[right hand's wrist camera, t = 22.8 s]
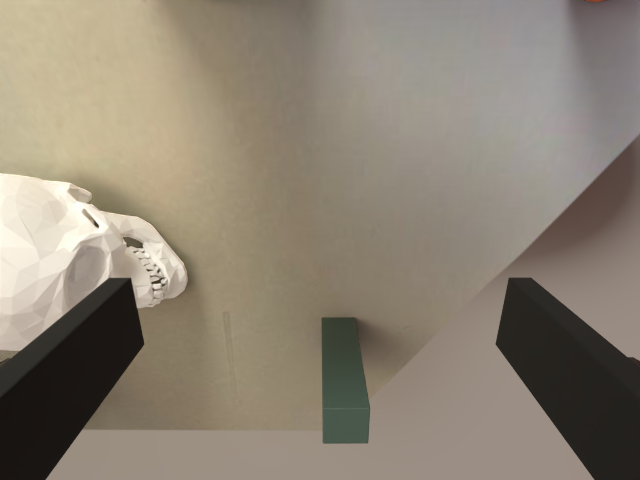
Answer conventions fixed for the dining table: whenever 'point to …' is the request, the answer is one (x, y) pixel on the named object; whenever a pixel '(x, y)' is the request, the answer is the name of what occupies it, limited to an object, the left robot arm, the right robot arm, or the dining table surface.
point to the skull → (70, 256)
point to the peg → (343, 384)
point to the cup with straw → (594, 0)
